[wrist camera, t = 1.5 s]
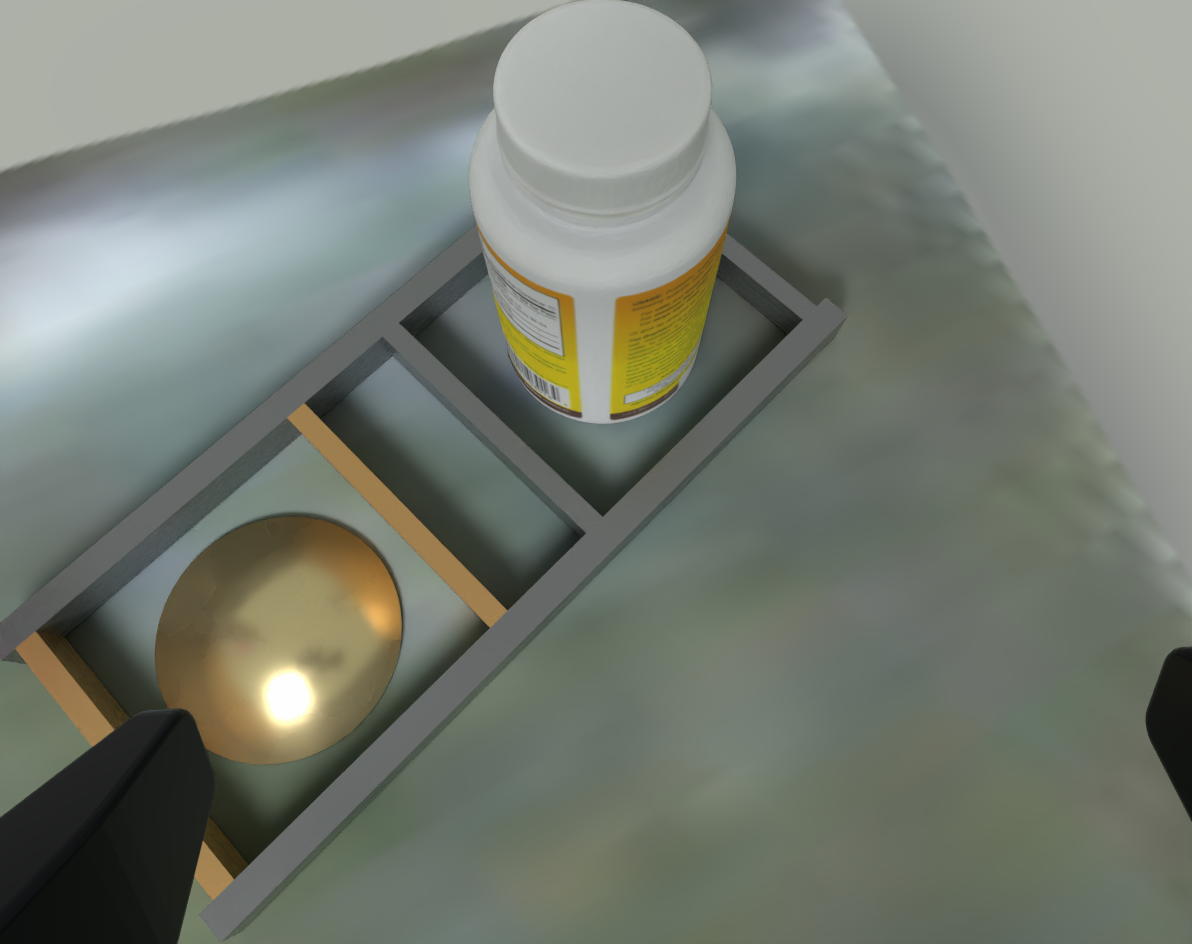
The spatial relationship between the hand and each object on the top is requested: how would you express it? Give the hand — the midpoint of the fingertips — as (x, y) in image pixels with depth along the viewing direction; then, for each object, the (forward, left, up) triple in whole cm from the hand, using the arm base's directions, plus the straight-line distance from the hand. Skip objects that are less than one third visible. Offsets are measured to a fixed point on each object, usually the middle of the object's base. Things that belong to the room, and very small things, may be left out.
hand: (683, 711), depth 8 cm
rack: (+8, +1, -14) cm, 16 cm away
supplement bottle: (+10, -5, -14) cm, 18 cm away
